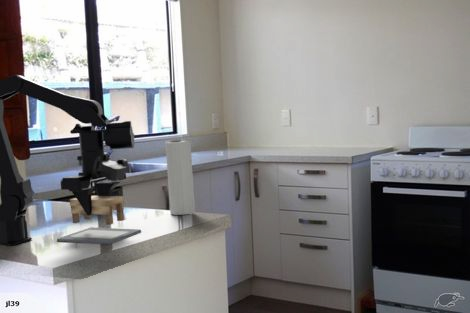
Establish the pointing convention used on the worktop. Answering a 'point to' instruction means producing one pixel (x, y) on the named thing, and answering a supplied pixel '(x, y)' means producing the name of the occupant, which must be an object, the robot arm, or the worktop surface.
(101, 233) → the charcoal mat
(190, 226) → the worktop surface
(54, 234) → the worktop surface
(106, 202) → the oak stool
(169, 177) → the paper towel roll
